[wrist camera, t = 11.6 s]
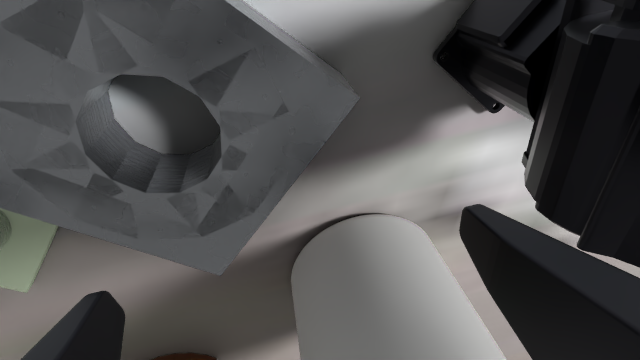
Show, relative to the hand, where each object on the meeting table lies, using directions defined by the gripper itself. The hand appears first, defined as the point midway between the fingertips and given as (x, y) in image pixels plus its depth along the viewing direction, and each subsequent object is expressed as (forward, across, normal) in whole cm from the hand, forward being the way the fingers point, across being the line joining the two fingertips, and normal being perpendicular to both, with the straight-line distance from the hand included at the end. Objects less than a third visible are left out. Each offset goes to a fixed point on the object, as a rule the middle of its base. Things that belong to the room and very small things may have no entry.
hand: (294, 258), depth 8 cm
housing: (+13, +6, 0) cm, 14 cm away
